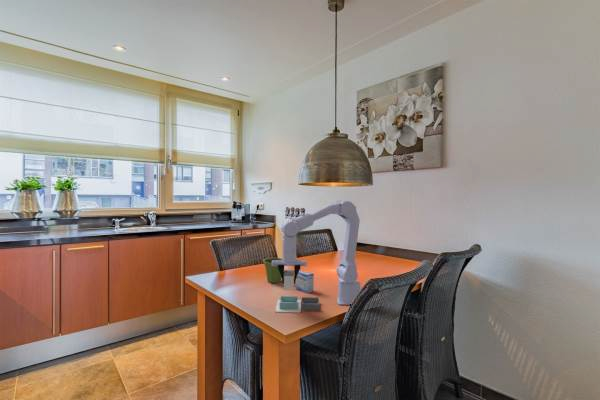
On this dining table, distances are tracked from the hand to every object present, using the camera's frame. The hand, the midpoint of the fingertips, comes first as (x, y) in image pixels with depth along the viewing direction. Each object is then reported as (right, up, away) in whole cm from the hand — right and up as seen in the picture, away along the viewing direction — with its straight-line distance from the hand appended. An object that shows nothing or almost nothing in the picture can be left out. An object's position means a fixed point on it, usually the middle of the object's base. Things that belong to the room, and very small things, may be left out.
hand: (289, 283), depth 125 cm
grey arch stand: (+9, -10, 0) cm, 13 cm away
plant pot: (-9, -9, +35) cm, 37 cm away
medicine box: (+7, -10, +21) cm, 24 cm away
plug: (0, -2, 0) cm, 2 cm away
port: (0, -10, 0) cm, 10 cm away
